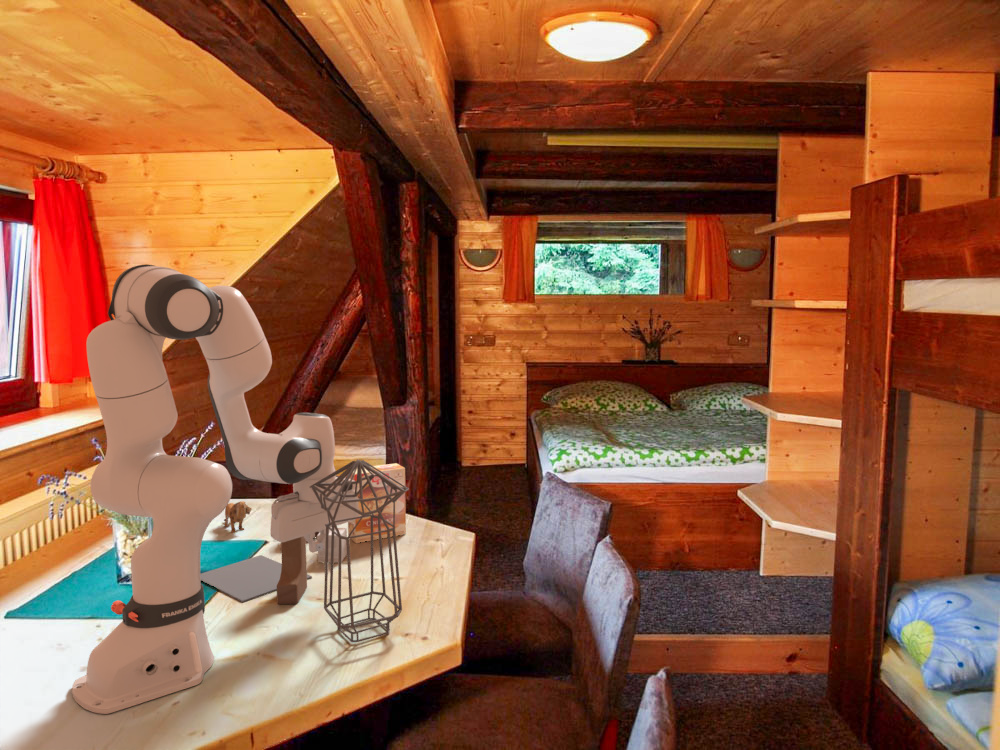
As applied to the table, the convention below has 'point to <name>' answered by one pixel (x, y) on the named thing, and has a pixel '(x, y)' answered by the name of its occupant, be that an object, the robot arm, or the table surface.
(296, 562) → the wooden block
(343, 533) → the product box
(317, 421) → the robot arm
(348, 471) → the geometric lantern
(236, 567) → the mat
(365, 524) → the coffeecake box
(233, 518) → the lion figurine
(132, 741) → the table surface
